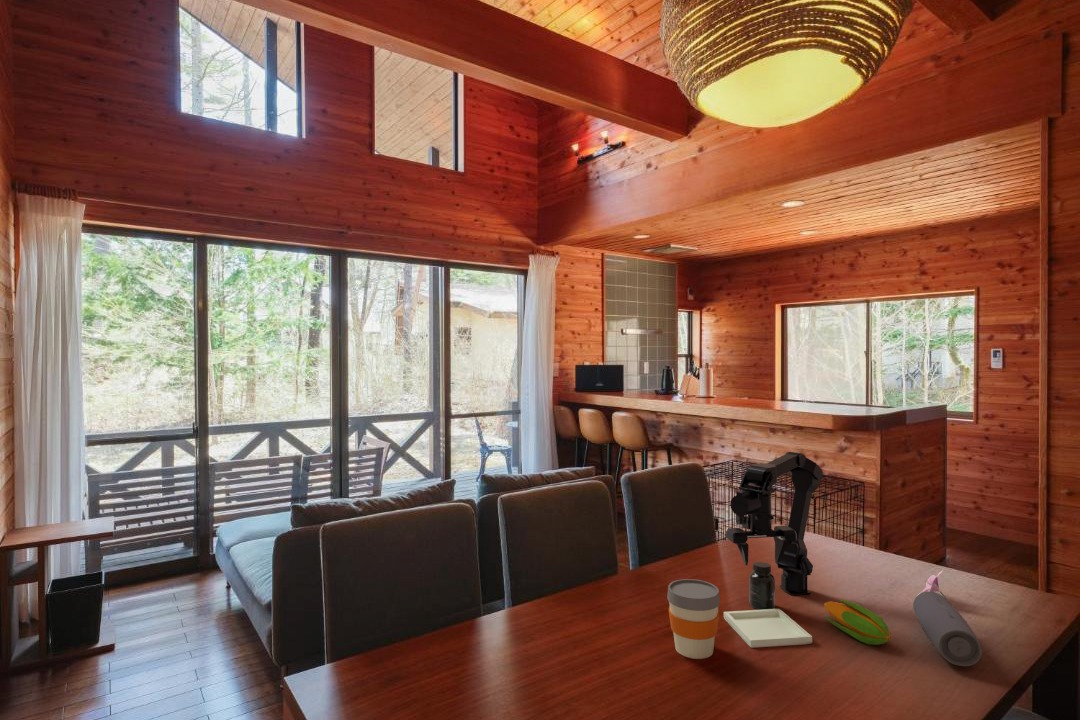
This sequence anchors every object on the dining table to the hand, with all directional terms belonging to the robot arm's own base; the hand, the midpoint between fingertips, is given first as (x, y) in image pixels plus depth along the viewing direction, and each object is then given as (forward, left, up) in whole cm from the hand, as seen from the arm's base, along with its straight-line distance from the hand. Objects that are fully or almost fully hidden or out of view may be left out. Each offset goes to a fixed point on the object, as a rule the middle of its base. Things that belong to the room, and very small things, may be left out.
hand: (761, 564), depth 165 cm
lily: (-50, +3, -12) cm, 52 cm away
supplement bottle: (0, 0, -12) cm, 12 cm away
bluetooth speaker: (-33, +28, -12) cm, 45 cm away
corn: (-15, +18, -12) cm, 27 cm away
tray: (+6, +14, -12) cm, 20 cm away
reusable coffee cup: (+28, +21, -12) cm, 37 cm away
